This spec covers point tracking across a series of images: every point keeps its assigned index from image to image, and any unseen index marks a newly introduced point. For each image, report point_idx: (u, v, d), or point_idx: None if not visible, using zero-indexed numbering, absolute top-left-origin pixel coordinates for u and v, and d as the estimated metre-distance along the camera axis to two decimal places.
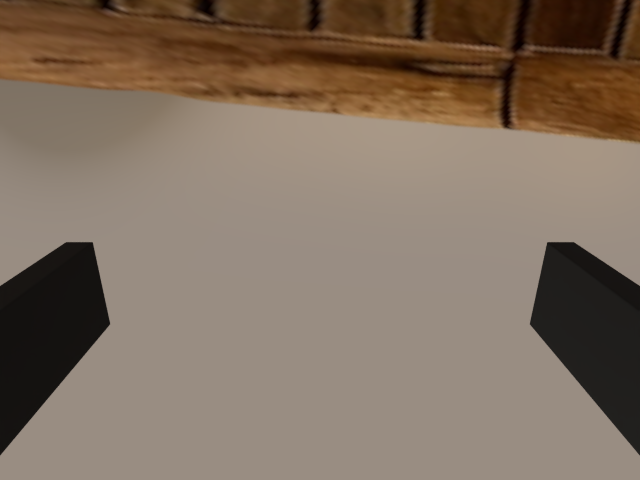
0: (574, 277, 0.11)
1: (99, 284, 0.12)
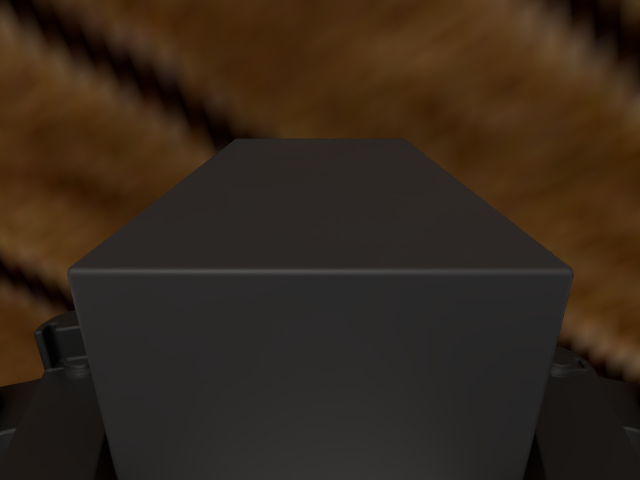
0: None
1: None
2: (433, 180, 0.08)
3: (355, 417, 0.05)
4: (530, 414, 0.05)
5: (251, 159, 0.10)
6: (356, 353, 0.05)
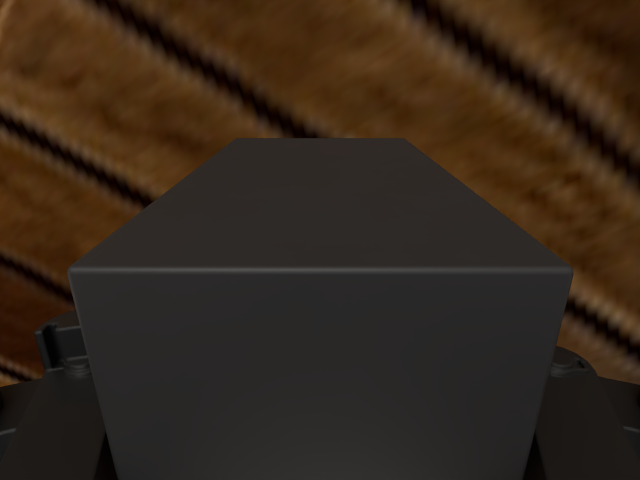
0: None
1: None
2: (433, 179, 0.08)
3: (356, 415, 0.05)
4: (530, 412, 0.05)
5: (251, 158, 0.10)
6: (356, 352, 0.05)
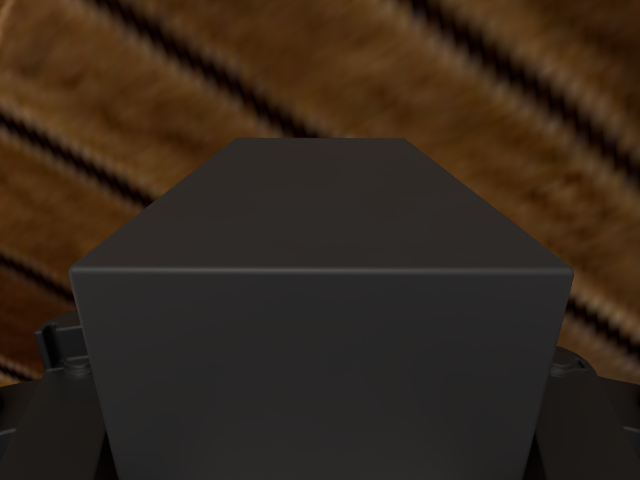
0: None
1: None
2: (434, 180, 0.08)
3: (356, 416, 0.05)
4: (530, 413, 0.05)
5: (252, 158, 0.10)
6: (356, 353, 0.05)
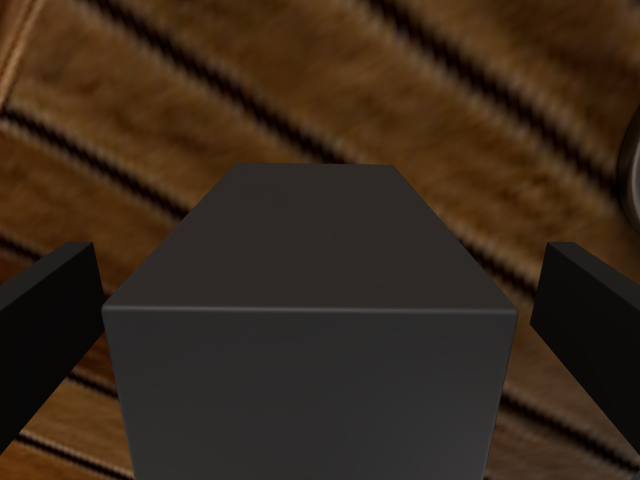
0: (574, 277, 0.11)
1: (99, 283, 0.12)
2: (414, 215, 0.09)
3: (340, 428, 0.06)
4: (486, 427, 0.06)
5: (251, 188, 0.11)
6: (339, 376, 0.06)
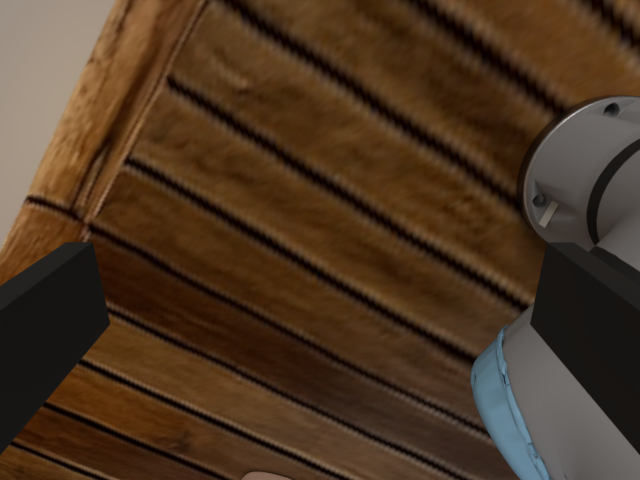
0: (574, 277, 0.11)
1: (99, 283, 0.12)
2: None
3: None
4: None
5: None
6: None
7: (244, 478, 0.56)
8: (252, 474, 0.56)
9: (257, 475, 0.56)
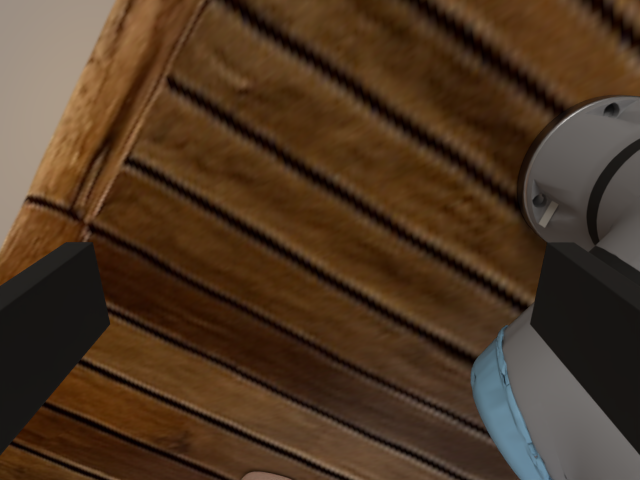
0: (574, 277, 0.11)
1: (99, 283, 0.12)
2: None
3: None
4: None
5: None
6: None
7: (244, 478, 0.56)
8: (252, 474, 0.56)
9: (257, 475, 0.56)
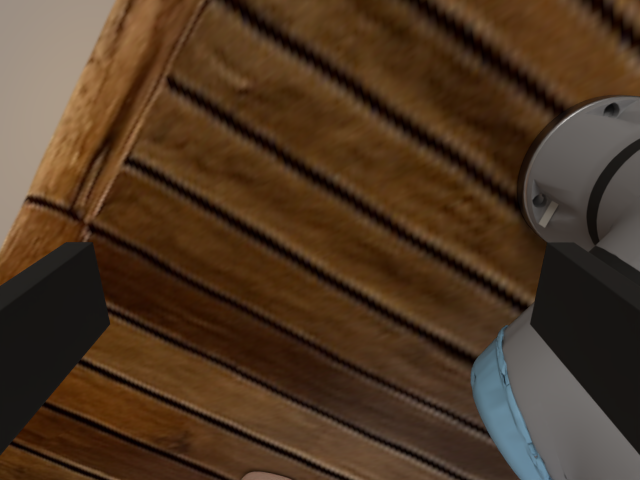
0: (574, 277, 0.11)
1: (99, 283, 0.12)
2: None
3: None
4: None
5: None
6: None
7: (244, 478, 0.56)
8: (252, 474, 0.56)
9: (257, 475, 0.56)
